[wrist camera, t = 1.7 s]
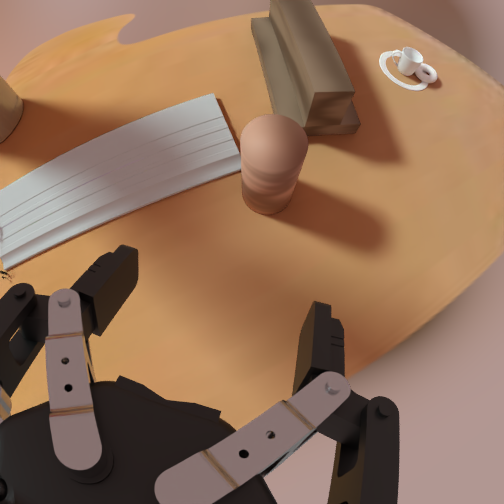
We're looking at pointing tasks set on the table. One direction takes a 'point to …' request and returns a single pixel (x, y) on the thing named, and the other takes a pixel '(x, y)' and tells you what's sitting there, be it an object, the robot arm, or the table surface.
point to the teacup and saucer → (409, 67)
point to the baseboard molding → (115, 177)
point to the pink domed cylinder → (271, 161)
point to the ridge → (304, 69)
